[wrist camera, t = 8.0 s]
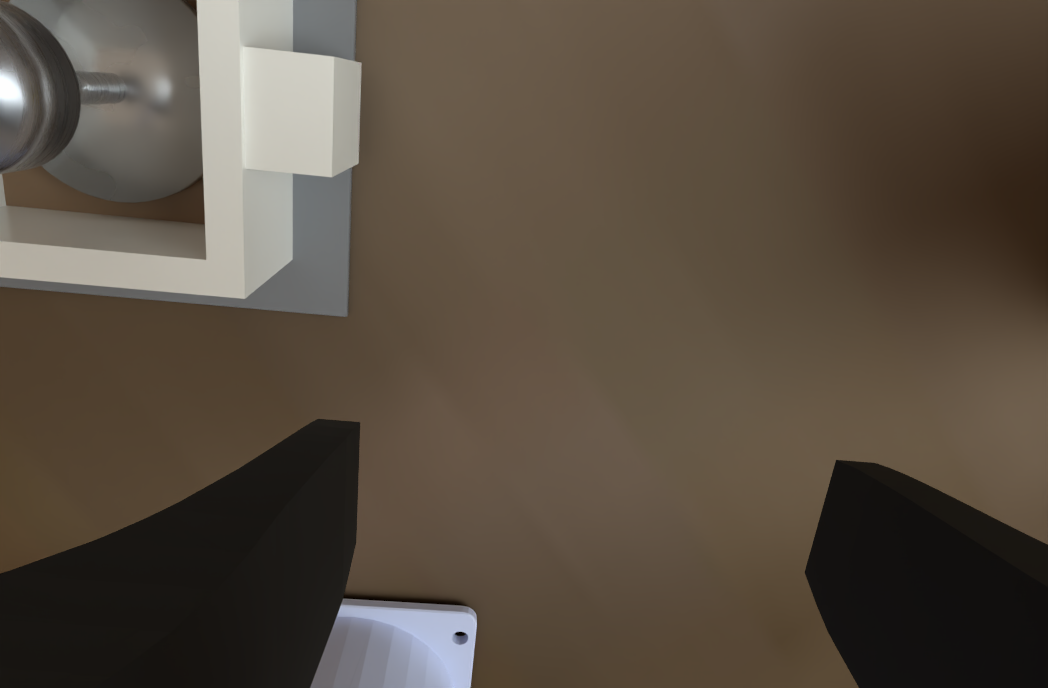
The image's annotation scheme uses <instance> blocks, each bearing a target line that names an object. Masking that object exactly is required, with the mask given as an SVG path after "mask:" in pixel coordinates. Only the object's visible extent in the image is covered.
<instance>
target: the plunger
mask: <svg viewBox="0 0 1048 688" xmlns="http://www.w3.org/2000/svg"><path fill="white" fill-rule="evenodd" d="M39 166H42V167H43V168H44V169H45V170H47V171H48V172H49V173H50V174H52V175H53V176H54V177H56V178H57V179H59V180H60V181H62V182H63V183H65V184H67V185H69V186H70V187H72V188H74V189H76V190H78V191H81V192H83V193H85V194H88V195H90V196H94V197H97V198H101V199H104V200H110V201H116V202H131V203H136V202H146V201H151V200H156V199H160V198H164V197H167V196H170V195H172V194H175V193H178V192H180V191H183V190H184V189H186V188H188V187H190V186H191V185H193V184H195V183H196V182H197V181H198V180H200V179H201V178H202V177H203V155H202V129H201V102H200V75H199V48H198V22H197V11H196V10H195V9H194V8H193V7H192V6H191V5H190V4H189V3H188V2H187V1H186V0H10V1H9V3H7V2H4V1H1V0H0V174H4V173H10V172H16V171H22V170H28V169H32V168H36V167H39Z"/></svg>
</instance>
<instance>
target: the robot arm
mask: <svg viewBox="0 0 1048 688" xmlns="http://www.w3.org/2000/svg"><path fill="white" fill-rule="evenodd" d="M359 440H360V422H350V421H337V420H325V419H317V420H315V421H313V422H311V423H310V424H308V425H306V426H305V427H303V428H302V429H300V430H298V431H297V432H295V433H294V434H292V435H291V436H289V437H288V438H286V439H285V440H283V441H282V442H280V443H278V444H277V445H275V446H274V447H272V448H271V449H269V450H268V451H266V452H264V453H263V454H261V455H260V456H258V457H256V458H255V459H253V460H252V461H250V462H249V463H247V464H245V465H244V466H242V467H241V468H239V469H237V470H236V471H234V472H232V473H230V474H229V475H227V476H225V477H223V478H221V479H220V480H218V481H216V482H214V483H213V484H211V485H209V486H207V487H205V488H204V489H202V490H200V491H198V492H196V493H195V494H193V495H191V496H189V497H187V498H186V499H184V500H182V501H180V502H178V503H176V504H174V505H172V506H170V507H168V508H166V509H164V510H162V511H160V512H158V513H156V514H154V515H152V516H150V517H148V518H146V519H143V520H141V521H139V522H136V523H134V524H132V525H130V526H127V527H125V528H123V529H120V530H118V531H116V532H114V533H111V534H109V535H107V536H104V537H102V538H99V539H97V540H94V541H92V542H89V543H86V544H83V545H81V546H78V547H75V548H72V549H69V550H67V551H64V552H61V553H58V554H55V555H53V556H50V557H47V558H44V559H41V560H39V561H36V562H33V563H30V564H27V565H25V566H22V567H19V568H16V569H13V570H10V571H7V572H4V573H1V574H0V688H470V686H471V677H472V667H473V657H474V647H475V637H476V628H477V616H476V613H475V612H474V610H472V609H471V608H469V607H466V606H459V605H442V604H426V603H409V602H393V601H376V600H359V599H343V596H344V592H345V588H346V584H347V580H348V575H349V571H350V567H351V562H352V558H353V553H354V549H355V545H356V530H357V500H358V470H359ZM805 574H806V577H807V580H808V583H809V585H810V588H811V591H812V593H813V596H814V599H815V602H816V604H817V607H818V609H819V611H820V614H821V616H822V619H823V621H824V623H825V626H826V628H827V631H828V633H829V634H830V636H831V638H832V640H833V642H834V644H835V646H836V647H837V649H838V651H839V653H840V655H841V656H842V658H843V660H844V662H845V663H846V665H847V667H848V669H849V671H850V672H851V674H852V676H853V678H854V679H855V681H856V683H857V685H858V686H859V688H1048V545H1047V544H1045V543H1043V542H1041V541H1039V540H1037V539H1035V538H1033V537H1031V536H1028V535H1026V534H1024V533H1022V532H1020V531H1018V530H1016V529H1014V528H1012V527H1010V526H1008V525H1006V524H1004V523H1002V522H1000V521H998V520H996V519H994V518H992V517H990V516H988V515H987V514H985V513H983V512H981V511H979V510H977V509H975V508H973V507H971V506H969V505H967V504H965V503H963V502H961V501H959V500H957V499H955V498H953V497H951V496H949V495H947V494H945V493H943V492H941V491H939V490H937V489H935V488H933V487H931V486H929V485H927V484H924V483H922V482H920V481H918V480H916V479H914V478H912V477H909V476H907V475H905V474H903V473H900V472H898V471H895V470H893V469H890V468H888V467H885V466H882V465H879V464H876V463H868V462H855V461H842V460H836V462H835V466H834V470H833V473H832V477H831V480H830V484H829V487H828V491H827V495H826V498H825V502H824V505H823V509H822V512H821V516H820V520H819V523H818V527H817V530H816V534H815V537H814V541H813V545H812V548H811V552H810V555H809V559H808V562H807V566H806V570H805ZM460 631H461V632H464V633H466V635H464V636H457V635H455V633H456V632H460Z"/></svg>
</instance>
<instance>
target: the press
mask: <svg viewBox="0 0 1048 688" xmlns="http://www.w3.org/2000/svg"><path fill="white" fill-rule="evenodd" d="M1 1H4V2H7V3H9V1H10V0H1ZM186 1H187V2H188V3H189V4H190V5H191V6H192V7H193V8H194V9H195V10H196V11H197V22H198V48H199V75H200V102H201V129H202V155H203V177H202V178H201V179H200V180H198V181H197V182H196V183H195V184H193V185H191V186H190V187H188V188H186V189H184V190H183V191H180V192H178V193H175V194H172V195H170V196H167V197H164V198H160V199H156V200H151V201H146V202H136V203H131V202H116V201H110V200H104V199H101V198H97V197H94V196H90V195H88V194H85V193H83V192H81V191H78V190H76V189H74V188H72V187H70V186H69V185H67V184H65V183H63V182H62V181H60V180H59V179H57V178H56V177H54V176H53V175H52V174H50V173H49V172H48V171H47V170H45V169H44V168H43V167H42V166H39V167H36V168H32V169H28V170H22V171H16V172H10V173H4V174H0V287H11V288H23V289H34V290H46V291H57V292H68V293H80V294H91V295H103V296H114V297H125V298H137V299H148V300H160V301H171V302H183V303H194V304H205V305H217V306H228V307H240V308H251V309H262V310H274V311H285V312H297V313H308V314H320V315H331V316H342V317H347V316H348V299H349V263H350V227H351V191H352V167H353V166H355V165H357V164H358V163H359V130H360V97H361V64H362V63H360V62H355V46H356V10H357V0H186Z"/></svg>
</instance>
